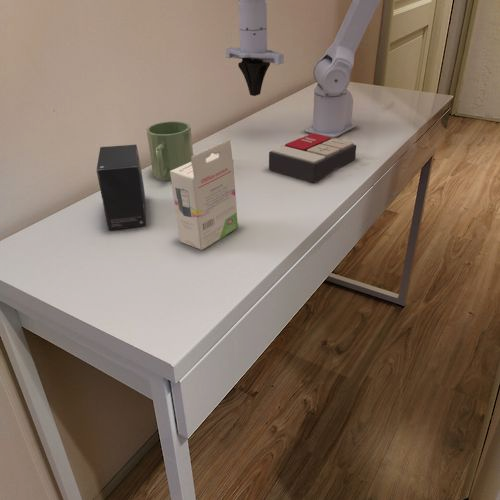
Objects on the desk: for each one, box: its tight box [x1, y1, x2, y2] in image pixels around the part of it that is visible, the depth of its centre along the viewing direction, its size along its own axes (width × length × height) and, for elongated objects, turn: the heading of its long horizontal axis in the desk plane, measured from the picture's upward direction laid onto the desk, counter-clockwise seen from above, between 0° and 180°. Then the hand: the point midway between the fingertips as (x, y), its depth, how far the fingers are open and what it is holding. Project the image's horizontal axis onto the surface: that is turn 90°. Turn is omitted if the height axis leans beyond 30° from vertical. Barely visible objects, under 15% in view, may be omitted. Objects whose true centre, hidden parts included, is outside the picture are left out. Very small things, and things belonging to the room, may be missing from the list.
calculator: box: [268, 133, 357, 183], centre depth 99 cm, size 11×4×15 cm
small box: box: [96, 144, 147, 231], centre depth 82 cm, size 11×6×10 cm, turn 12°
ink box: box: [170, 138, 239, 251], centre depth 74 cm, size 9×5×15 cm, turn 141°
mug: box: [146, 120, 194, 181], centre depth 96 cm, size 11×8×9 cm
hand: (255, 94), depth 111 cm, fingers closed
